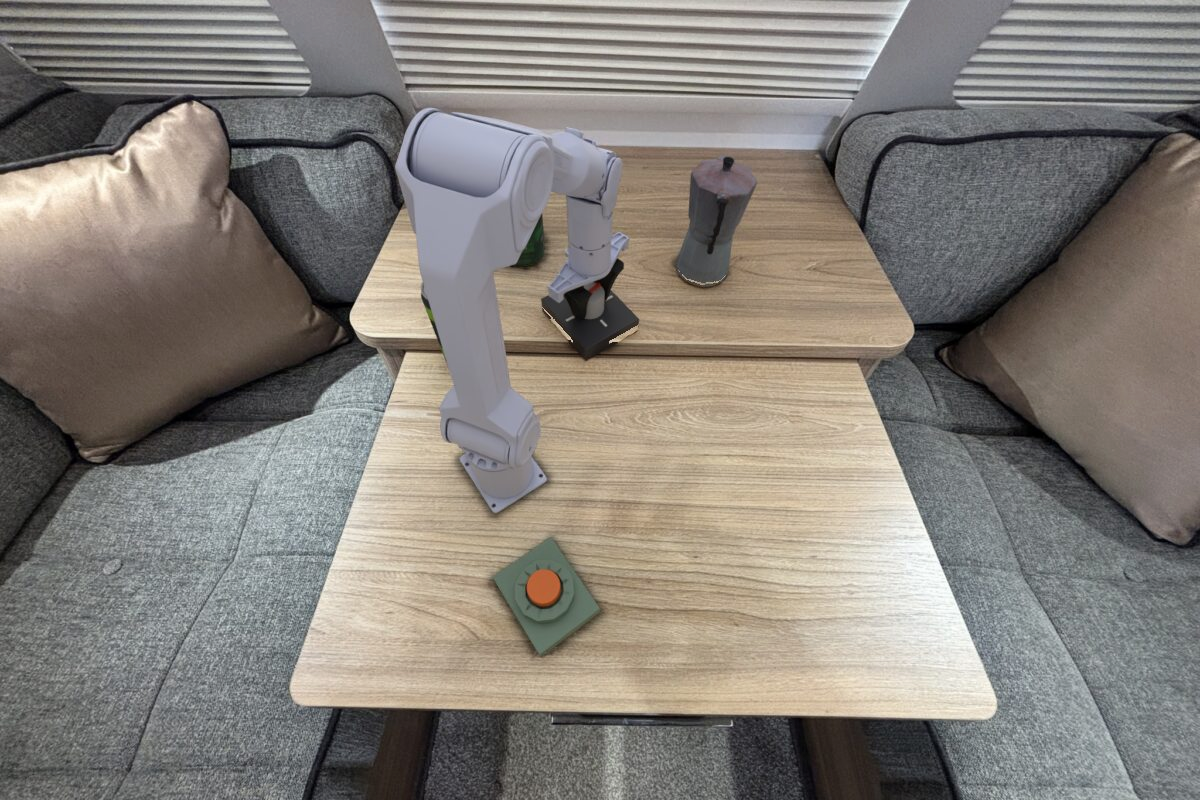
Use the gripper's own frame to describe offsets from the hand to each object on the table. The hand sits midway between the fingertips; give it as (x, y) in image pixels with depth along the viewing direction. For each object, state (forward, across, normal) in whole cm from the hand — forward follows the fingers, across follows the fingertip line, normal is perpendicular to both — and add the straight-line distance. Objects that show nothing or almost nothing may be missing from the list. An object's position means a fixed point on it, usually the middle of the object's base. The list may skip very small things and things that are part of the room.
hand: (589, 306), depth 81 cm
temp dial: (0, 0, 0) cm, 0 cm away
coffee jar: (+4, -4, -20) cm, 20 cm away
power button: (0, +34, +24) cm, 42 cm away
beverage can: (+4, +18, -9) cm, 20 cm away
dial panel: (+3, 0, 0) cm, 3 cm away
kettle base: (+3, +34, +24) cm, 42 cm away
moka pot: (+4, -21, +7) cm, 22 cm away
